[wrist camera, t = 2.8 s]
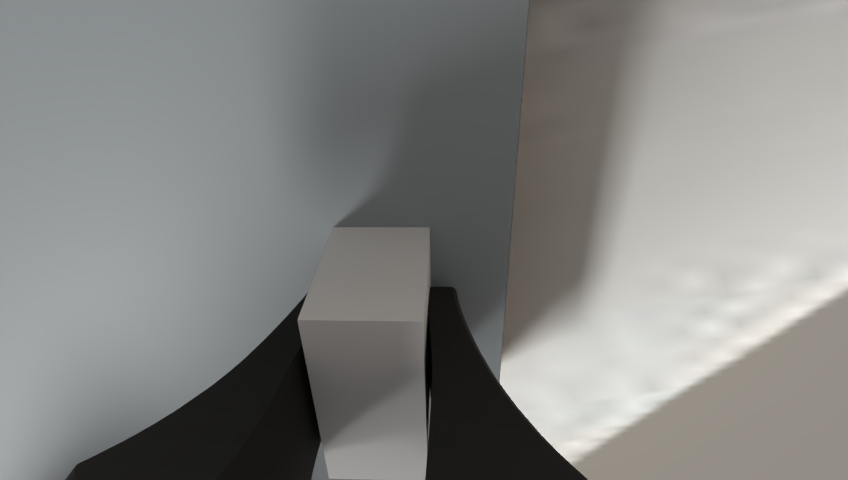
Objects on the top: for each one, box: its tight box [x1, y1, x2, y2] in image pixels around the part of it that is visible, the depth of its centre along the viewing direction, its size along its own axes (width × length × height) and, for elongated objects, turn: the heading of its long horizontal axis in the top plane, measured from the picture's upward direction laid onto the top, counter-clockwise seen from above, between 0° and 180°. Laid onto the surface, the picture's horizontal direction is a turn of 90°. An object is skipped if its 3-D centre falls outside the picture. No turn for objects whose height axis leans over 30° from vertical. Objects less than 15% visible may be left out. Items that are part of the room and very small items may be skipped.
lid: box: [0, 0, 529, 480], centre depth 13 cm, size 18×18×4 cm
